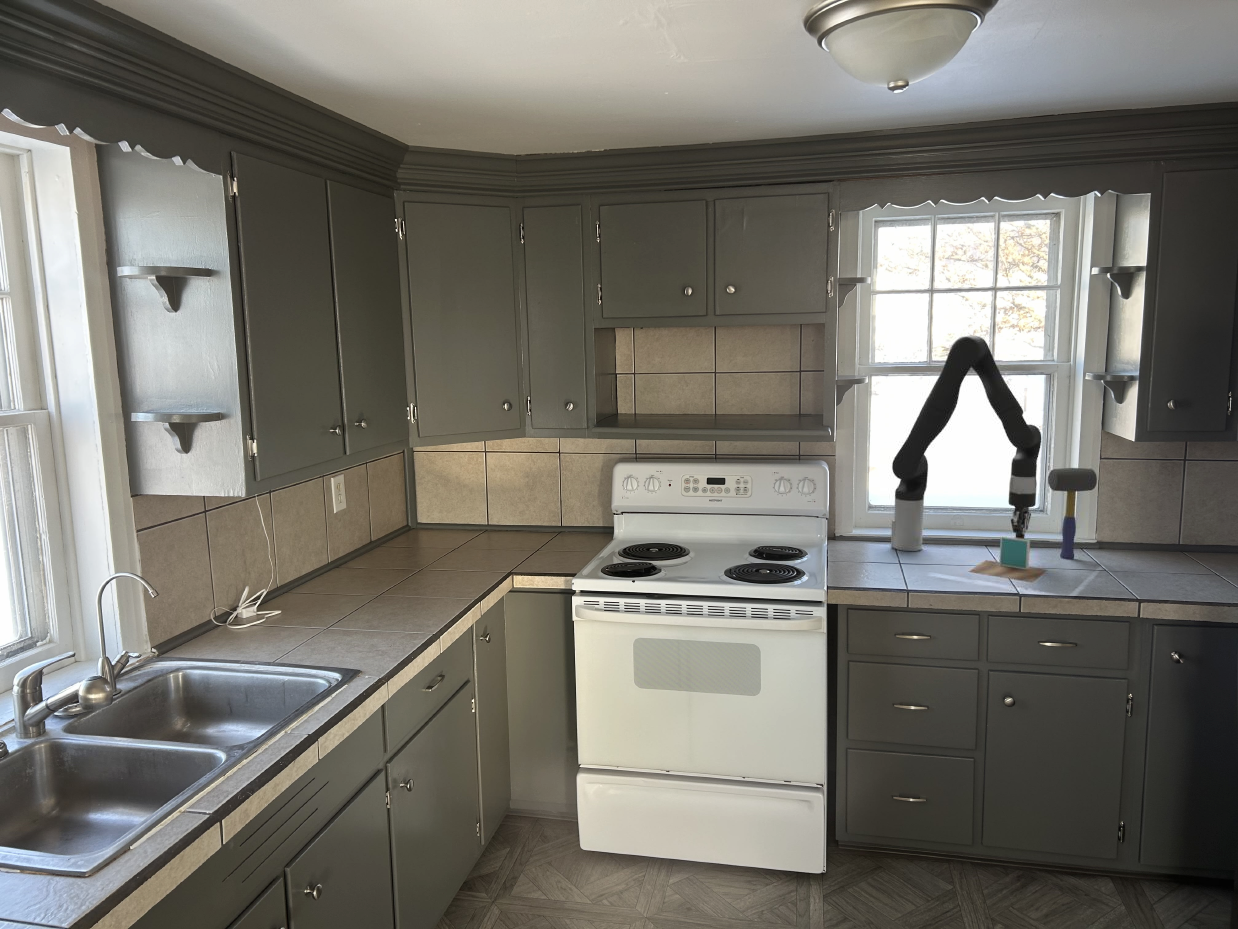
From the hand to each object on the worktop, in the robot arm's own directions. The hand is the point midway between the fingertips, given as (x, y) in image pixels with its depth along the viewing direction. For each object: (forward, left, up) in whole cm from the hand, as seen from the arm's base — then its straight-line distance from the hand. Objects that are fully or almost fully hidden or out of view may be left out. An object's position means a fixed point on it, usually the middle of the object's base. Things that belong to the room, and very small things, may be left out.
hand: (1019, 545), depth 264 cm
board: (0, -10, -7) cm, 12 cm away
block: (0, -5, -6) cm, 7 cm away
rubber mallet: (+10, +16, -7) cm, 20 cm away
